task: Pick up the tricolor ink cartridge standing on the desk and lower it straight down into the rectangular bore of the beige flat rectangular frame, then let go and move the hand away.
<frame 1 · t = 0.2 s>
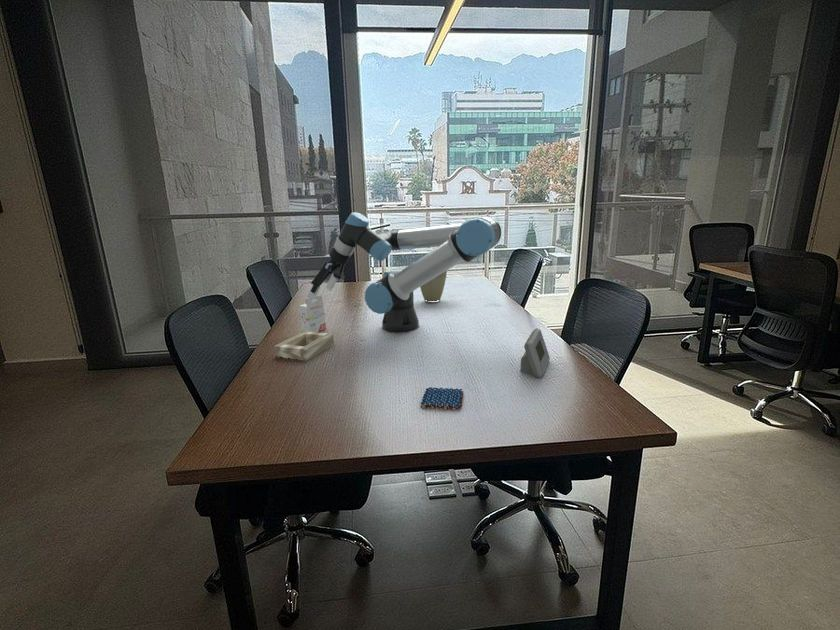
hand: (319, 293, 173), 16 cm above the table, tool tilted 35°, fingers open, 13 cm apart
woven mat: (443, 402, 115), on the table
digital clock: (536, 368, 134), on the table
beige flat rectangular frame: (305, 350, 156), on the table
plant pot: (432, 301, 218), on the table
ink cartridge box: (314, 331, 177), on the table
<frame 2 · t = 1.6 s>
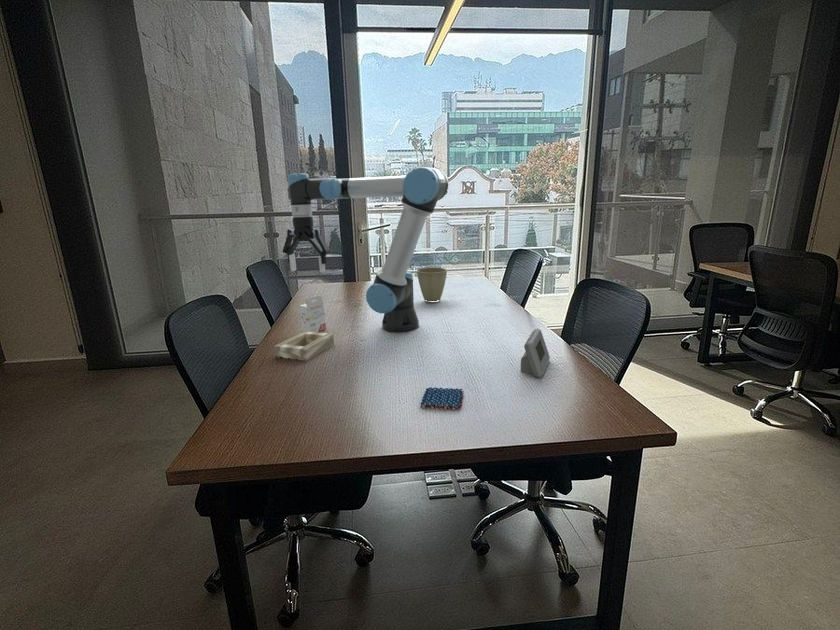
hand: (308, 271, 170), 25 cm above the table, tool pointing down, fingers open, 13 cm apart
nothing on the table moved.
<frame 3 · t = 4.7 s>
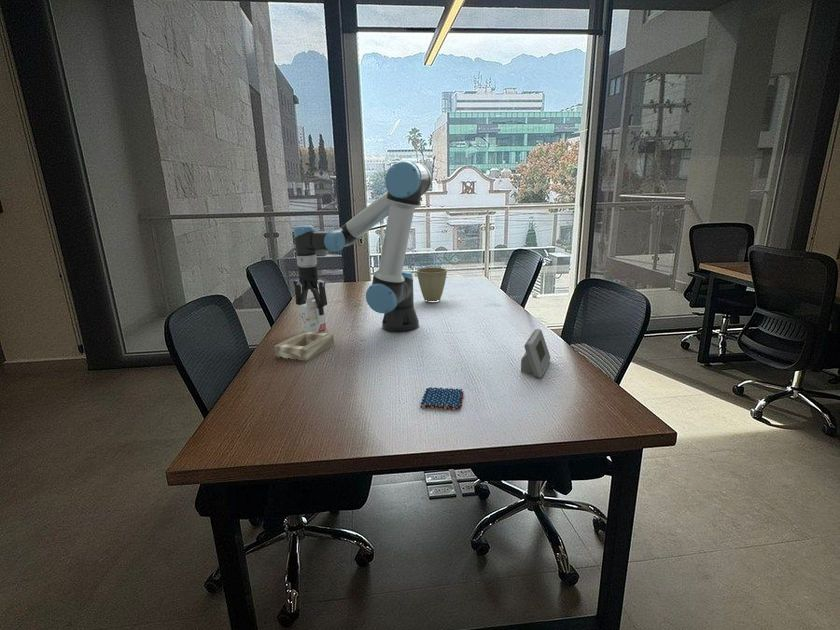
hand: (313, 322, 176), 4 cm above the table, tool pointing down, fingers closed on ink cartridge box, 6 cm apart
ink cartridge box: (314, 331, 177), on the table, touching gripper
everything else where it was.
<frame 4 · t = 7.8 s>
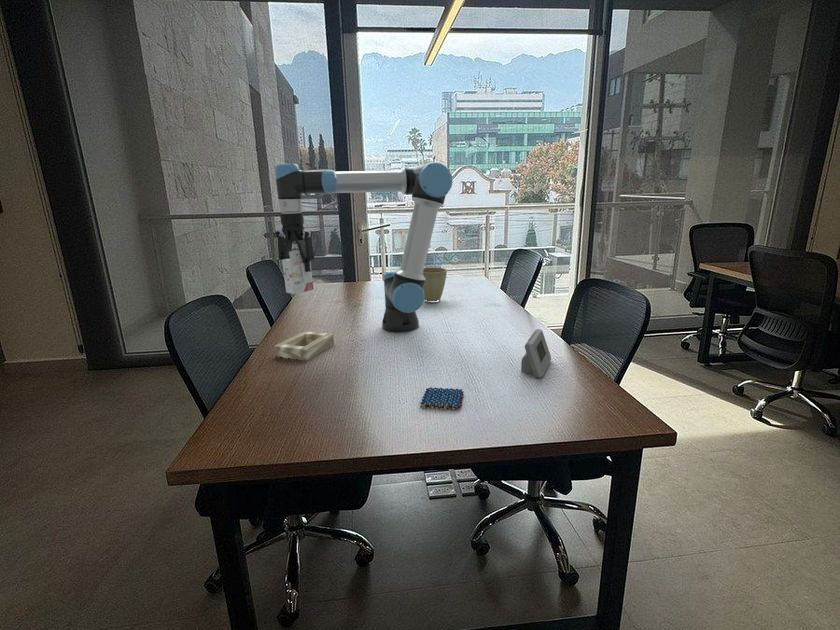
hand: (298, 280, 151), 25 cm above the table, tool pointing down, fingers closed on ink cartridge box, 6 cm apart
ink cartridge box: (299, 291, 152), point 21 cm above the table, touching gripper
everything else where it was.
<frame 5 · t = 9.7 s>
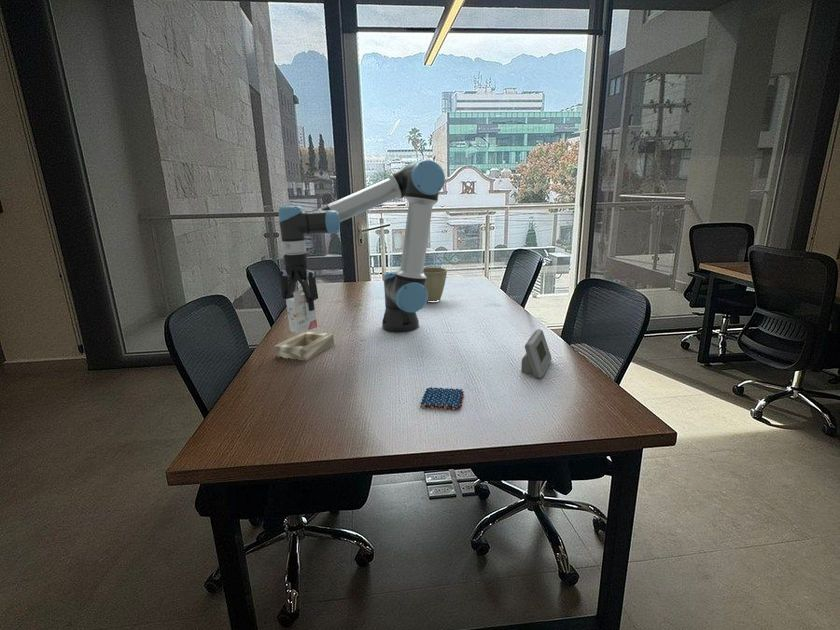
hand: (302, 318, 152), 12 cm above the table, tool pointing down, fingers closed on ink cartridge box, 6 cm apart
ink cartridge box: (303, 329, 153), point 8 cm above the table, touching gripper
everything else where it was.
when the fingers open (6 cm above the table, at t = 11.4 s): ink cartridge box drops 2 cm, resting in beige flat rectangular frame.
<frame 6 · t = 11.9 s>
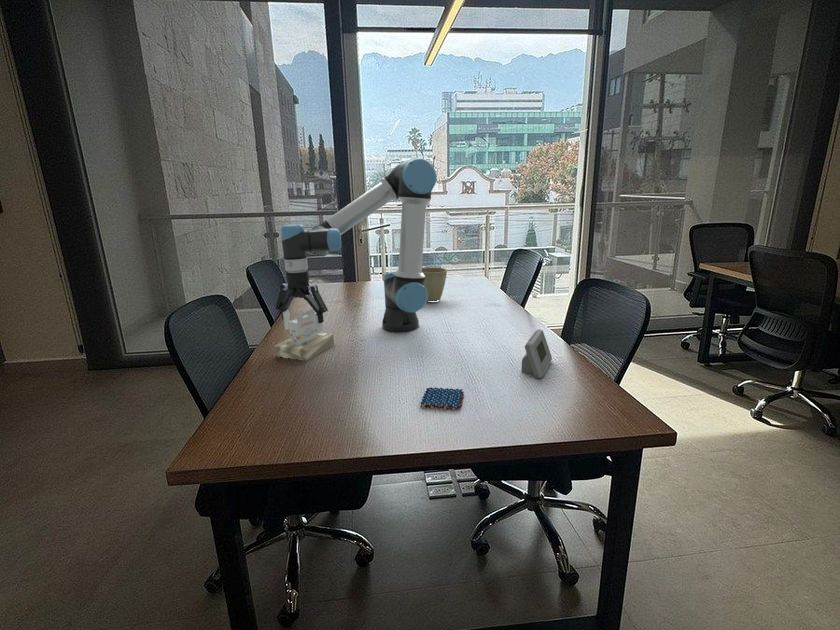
hand: (303, 330, 153), 8 cm above the table, tool pointing down, fingers open, 13 cm apart
ink cartridge box: (305, 350, 156), resting in beige flat rectangular frame
everything else where it was.
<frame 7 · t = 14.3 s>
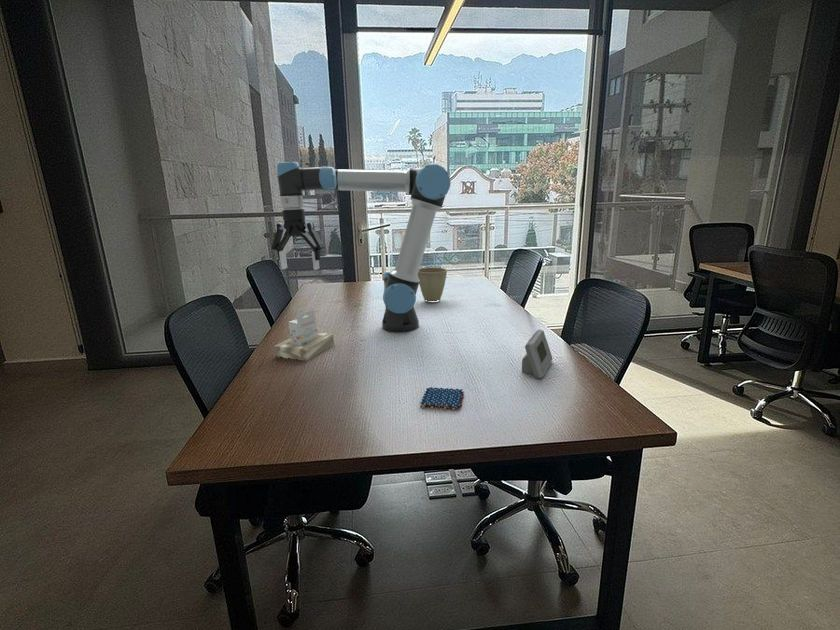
hand: (300, 269, 157), 28 cm above the table, tool pointing down, fingers open, 13 cm apart
nothing on the table moved.
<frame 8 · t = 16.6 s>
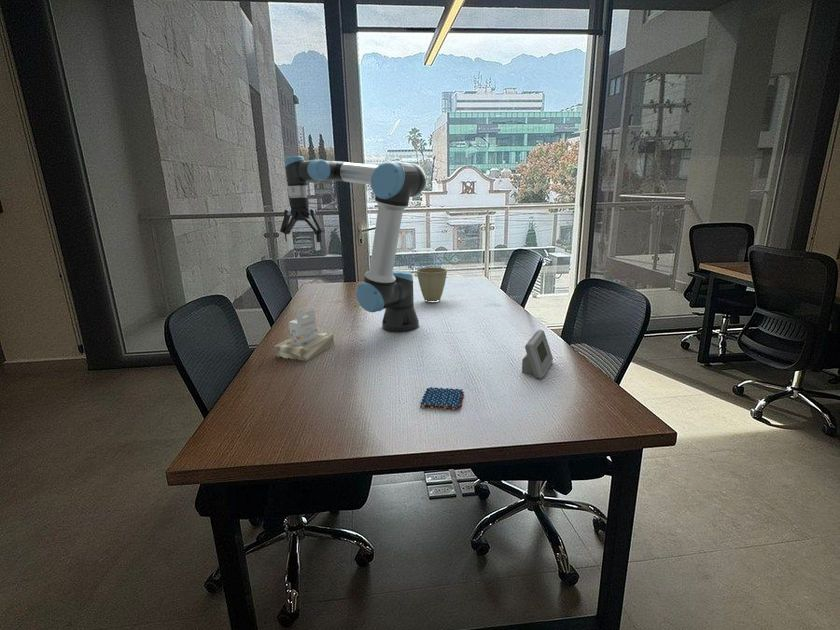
hand: (304, 249, 180), 32 cm above the table, tool pointing down, fingers open, 13 cm apart
at the end: ink cartridge box 0.1 cm off-centre on the beige flat rectangular frame, point 0.0 cm above the beige flat rectangular frame's base; ink cartridge box tilted 0°; the gripper is holding nothing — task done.
